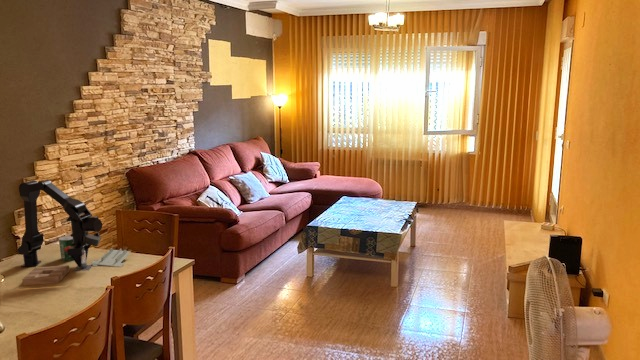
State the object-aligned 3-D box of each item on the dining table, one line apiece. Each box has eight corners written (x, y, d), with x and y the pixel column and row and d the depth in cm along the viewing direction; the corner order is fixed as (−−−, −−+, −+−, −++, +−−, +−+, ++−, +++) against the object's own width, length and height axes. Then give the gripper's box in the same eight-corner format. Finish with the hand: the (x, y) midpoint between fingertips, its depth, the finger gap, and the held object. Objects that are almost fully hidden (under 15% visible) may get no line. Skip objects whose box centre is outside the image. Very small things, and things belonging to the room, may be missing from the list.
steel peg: (80, 266, 232) (78, 250, 230) (87, 266, 232) (86, 249, 231) (78, 269, 229) (76, 252, 227) (85, 268, 229) (83, 251, 228)
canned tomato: (68, 256, 248) (66, 234, 246) (83, 257, 246) (80, 235, 244) (57, 261, 240) (54, 239, 238) (72, 262, 239) (69, 240, 237)
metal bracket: (106, 244, 245) (135, 247, 242) (109, 254, 247) (137, 257, 244) (88, 262, 232) (118, 265, 229) (91, 272, 235) (120, 275, 232)
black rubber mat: (77, 266, 234) (77, 265, 234) (93, 265, 235) (93, 264, 235) (72, 272, 227) (72, 271, 227) (89, 271, 228) (88, 270, 228)
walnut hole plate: (36, 273, 226) (35, 266, 225) (69, 271, 228) (68, 264, 227) (23, 286, 212) (22, 278, 211) (58, 283, 214) (57, 276, 213)
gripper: (91, 235, 219) (95, 269, 222) (103, 223, 237) (106, 255, 240) (64, 237, 218) (68, 271, 221) (78, 225, 236) (81, 257, 239)
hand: (82, 263), depth 230 cm, fingers open, 7 cm apart
